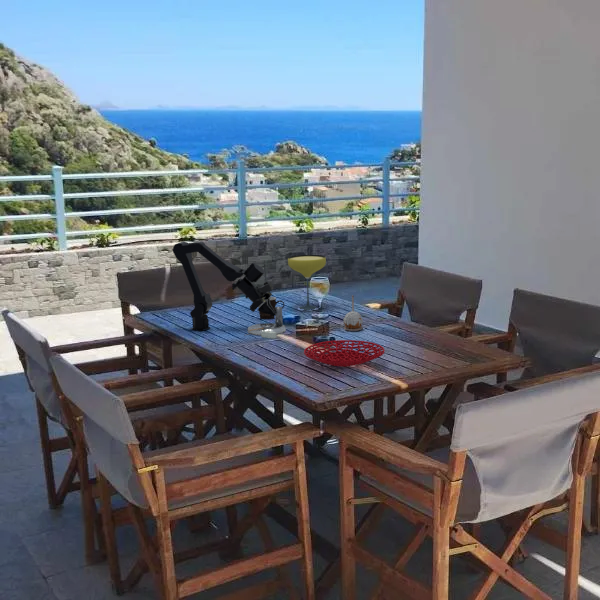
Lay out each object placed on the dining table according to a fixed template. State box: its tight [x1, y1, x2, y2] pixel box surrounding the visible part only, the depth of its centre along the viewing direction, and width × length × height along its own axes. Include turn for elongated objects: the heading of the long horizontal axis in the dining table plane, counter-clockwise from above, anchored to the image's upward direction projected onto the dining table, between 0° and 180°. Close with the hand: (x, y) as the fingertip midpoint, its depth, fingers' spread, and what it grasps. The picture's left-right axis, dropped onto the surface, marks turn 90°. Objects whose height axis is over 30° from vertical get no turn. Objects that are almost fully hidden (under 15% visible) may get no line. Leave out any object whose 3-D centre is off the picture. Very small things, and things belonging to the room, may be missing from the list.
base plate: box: [243, 330, 277, 339], centre depth 346 cm, size 20×20×4 cm
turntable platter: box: [247, 306, 287, 337], centre depth 346 cm, size 16×16×10 cm
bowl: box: [303, 339, 386, 368], centre depth 299 cm, size 29×29×5 cm
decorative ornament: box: [343, 294, 363, 332], centre depth 348 cm, size 8×8×15 cm
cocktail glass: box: [287, 254, 327, 310], centre depth 391 cm, size 18×18×25 cm
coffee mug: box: [257, 296, 285, 320], centre depth 371 cm, size 12×9×10 cm
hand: (275, 315), depth 350 cm, fingers closed
